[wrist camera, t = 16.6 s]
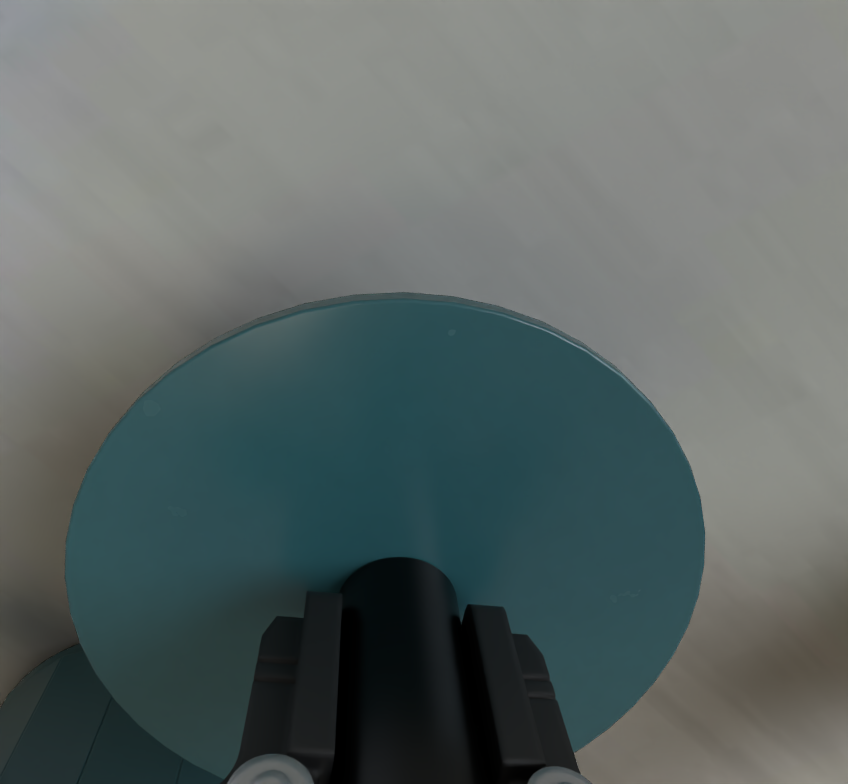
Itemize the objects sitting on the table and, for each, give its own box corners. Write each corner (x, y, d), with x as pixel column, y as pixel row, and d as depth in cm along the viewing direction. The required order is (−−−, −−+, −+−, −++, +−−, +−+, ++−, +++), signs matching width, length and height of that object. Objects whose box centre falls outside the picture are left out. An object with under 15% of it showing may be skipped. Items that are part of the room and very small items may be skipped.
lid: (478, 129, 11) (598, 170, 5) (773, 602, 17) (1003, 892, 11) (-56, 532, 14) (-377, 864, 8) (344, 836, 19) (334, 1177, 13)
